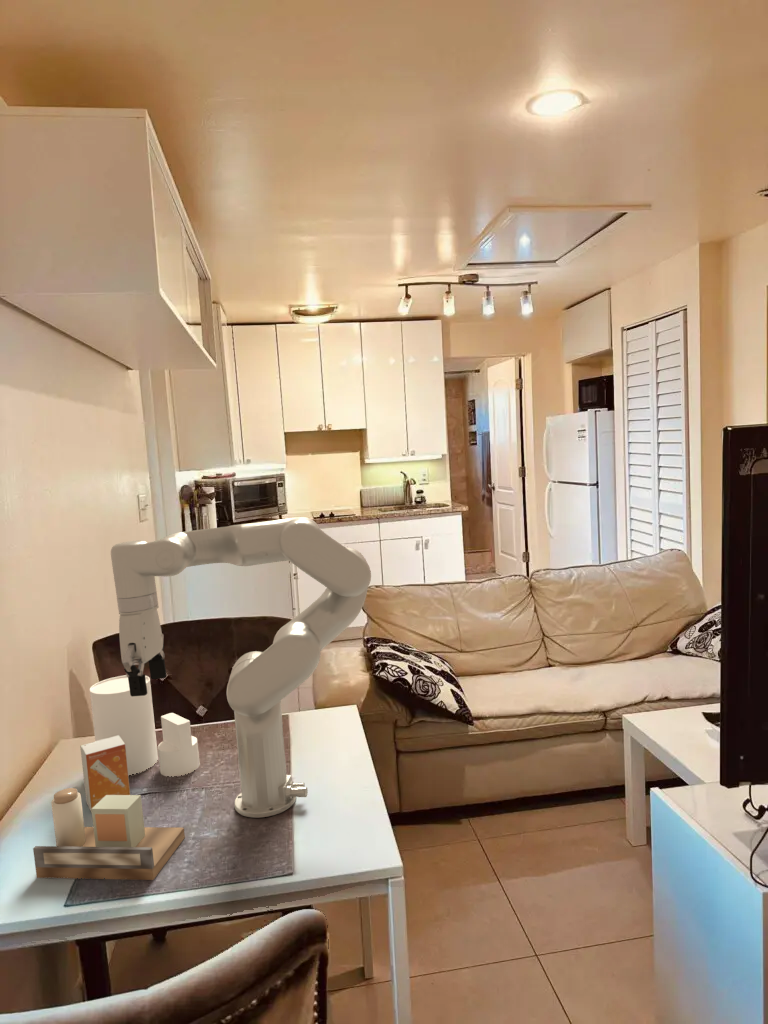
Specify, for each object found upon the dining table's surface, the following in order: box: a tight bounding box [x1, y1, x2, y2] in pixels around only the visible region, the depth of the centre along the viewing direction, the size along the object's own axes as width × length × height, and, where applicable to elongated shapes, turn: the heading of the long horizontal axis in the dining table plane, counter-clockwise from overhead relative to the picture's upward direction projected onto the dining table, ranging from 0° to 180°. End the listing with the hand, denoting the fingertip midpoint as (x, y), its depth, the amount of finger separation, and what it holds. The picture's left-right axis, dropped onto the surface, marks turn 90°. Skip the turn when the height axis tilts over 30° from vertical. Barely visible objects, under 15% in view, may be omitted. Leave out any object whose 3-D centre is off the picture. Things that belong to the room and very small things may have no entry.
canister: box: [89, 674, 159, 777], centre depth 165 cm, size 14×14×20 cm
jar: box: [50, 787, 86, 847], centre depth 128 cm, size 5×5×10 cm
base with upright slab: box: [157, 712, 201, 778], centre depth 161 cm, size 9×9×12 cm
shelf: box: [32, 826, 186, 881], centre depth 126 cm, size 22×13×6 cm, turn 82°
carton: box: [91, 794, 145, 847], centre depth 127 cm, size 5×7×8 cm
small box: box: [80, 735, 131, 814], centre depth 147 cm, size 8×6×13 cm
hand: (149, 686), depth 138 cm, fingers open, 9 cm apart
